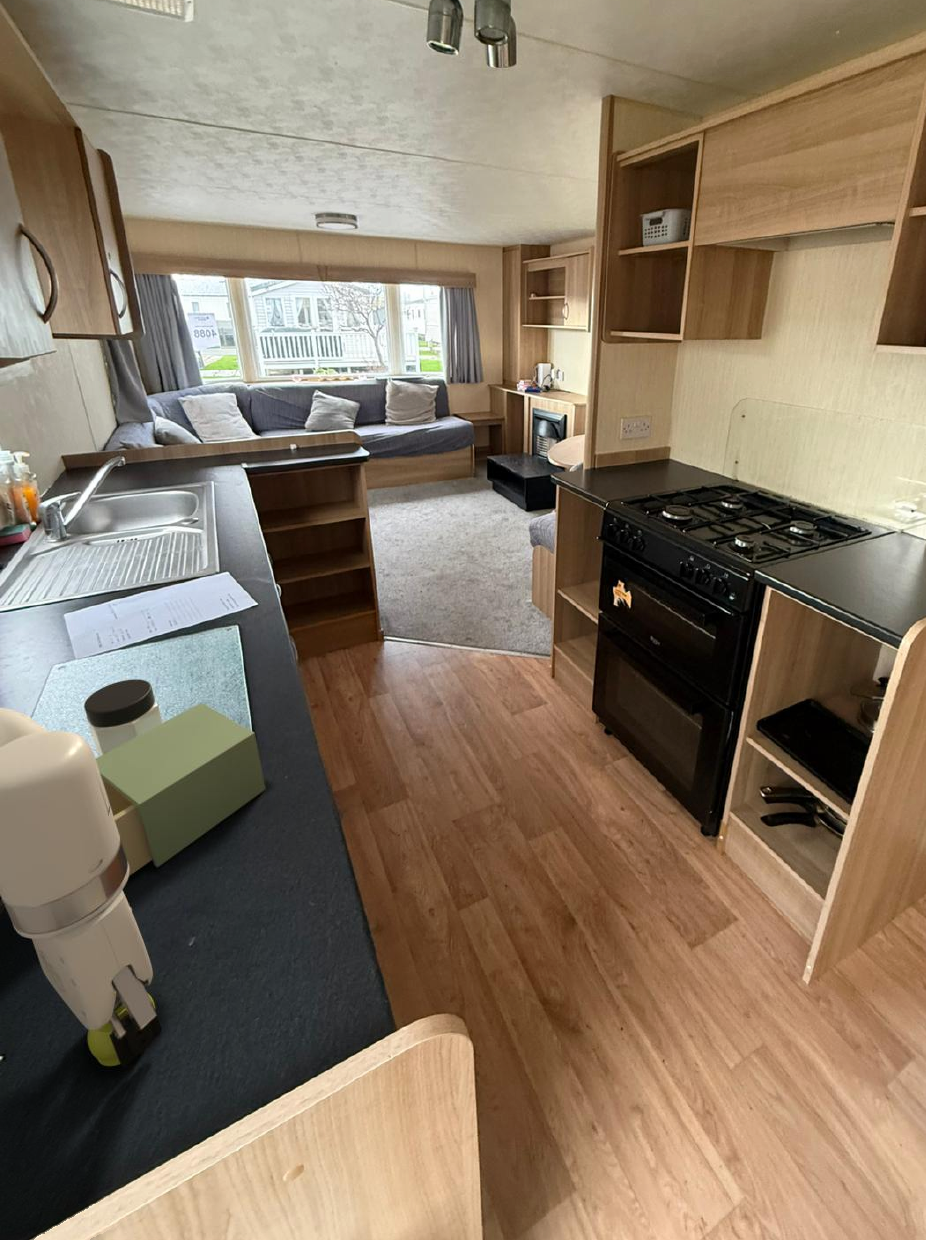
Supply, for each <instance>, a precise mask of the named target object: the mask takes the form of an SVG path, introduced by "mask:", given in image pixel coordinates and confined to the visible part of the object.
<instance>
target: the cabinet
mask: <svg viewBox="0 0 926 1240" xmlns="http://www.w3.org/2000/svg"><path fill="white" fill-rule="evenodd" d="M260 758H261V757H260V753H259V748H258V743H257V738H256V733H255V732H254V731H252V730H250V729H249V728H247V727H245V726H243V725H242V724H240V723H238V722H236V721H235V720H233V719H231V718H229V717H228V716H226V715H225V714H222V713H221V712H219V711H217V710H216V709H214V708H212V707H210V706H208V705H207V704H205V703H203V702H200V703H198V704H195V705H193V706H192V707H190V708H188V709H187V710H184V711H183V712H181V713H178V714H177V715H175V716H174V717H171V718H169V719H168V720H166V721H164V722H163V723H162V724H160V725H158V726H156V727H155V728H153V729H151V730H149V731H147V732H145V733H143V734H141V735H139V736H138V737H136V738H134V739H132V740H130V741H128V742H126V743H124V744H123V745H121V746H119V747H117V748H115V749H113V750H111V751H109V752H108V753H106V754H104V755H102V756H100V757H99V756H98V757H95V759H96V762H97V765H98V769H99V772H100V775H101V778H102V779H103V780H104V781H106V782H107V783H108V784H109V785H111V786H112V787H113V788H114V789H116V790H117V791H118V792H119V793H121V794H122V795H123V796H124V797H125V798H127V799H128V800H129V801H130V802H132V803H133V804H134V805H135V806H137V808H138V812H139V815H140V818H141V822H142V825H143V829H144V832H145V835H146V839H147V842H148V846H149V849H150V852H151V856H152V862H153V865H154V866H155V867H156V868H159V867H160V866H161V865H163V864H164V863H165V862H167V861H168V860H170V859H172V858H173V857H174V856H175V855H177V854H179V852H181V851H182V850H183V849H185V848H186V847H188V846H189V845H191V844H193V842H194V841H196V840H197V839H199V838H201V837H203V835H204V834H206V833H207V832H209V831H210V830H212V829H213V828H214V827H215V826H217V825H218V824H220V823H221V822H223V821H224V820H226V819H227V818H228V817H230V816H231V815H232V814H234V813H235V812H236V811H238V810H239V809H240V808H242V807H243V806H244V805H246V804H247V803H249V802H250V801H251V800H253V799H255V798H256V797H257V796H258V795H260V794H261V793H262V792H264V791H266V784H265V780H264V774H263V769H262V763H261V759H260Z"/></svg>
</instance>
